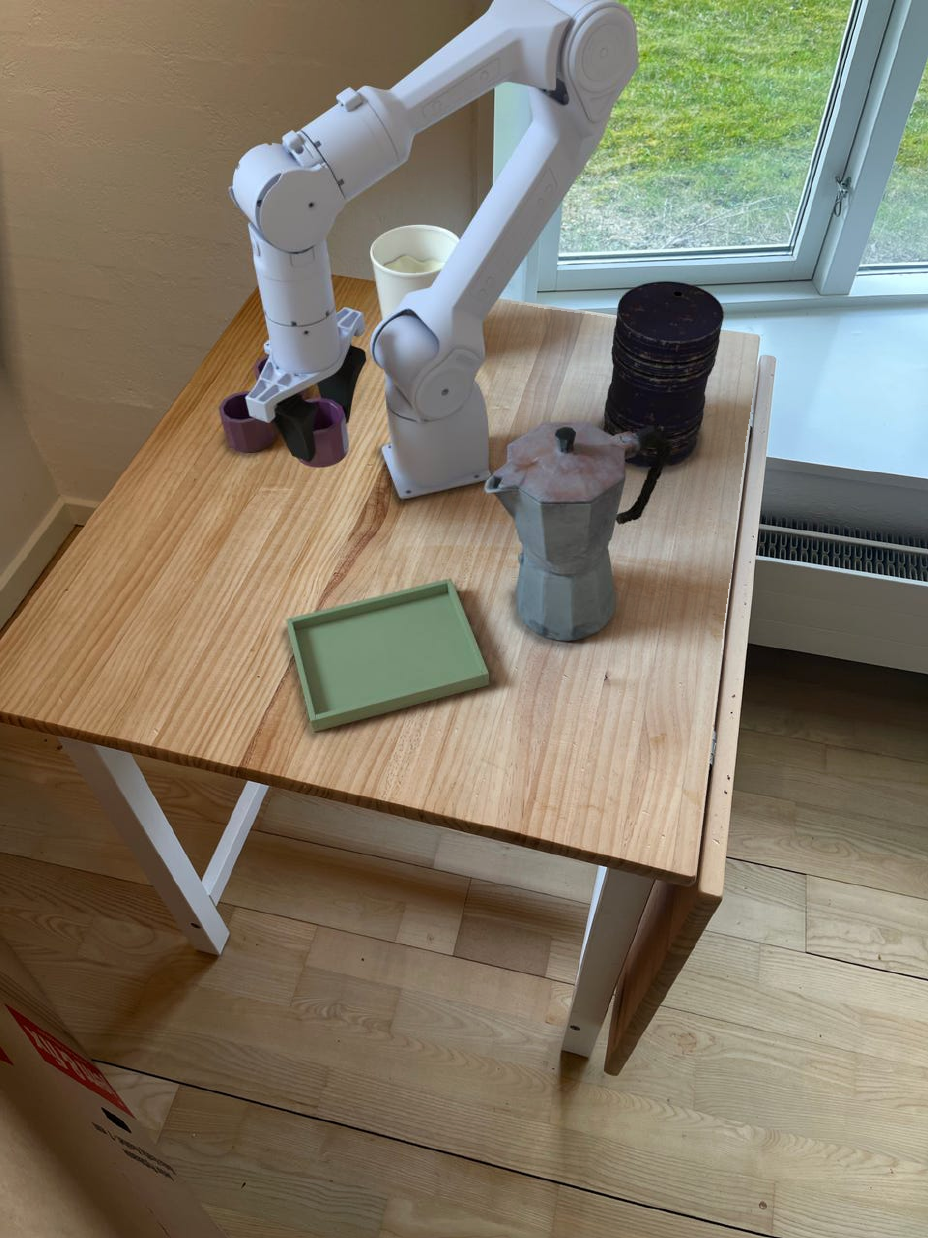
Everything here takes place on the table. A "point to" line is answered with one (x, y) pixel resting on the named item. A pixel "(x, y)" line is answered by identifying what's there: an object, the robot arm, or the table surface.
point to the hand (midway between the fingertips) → (320, 437)
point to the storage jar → (662, 364)
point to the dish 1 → (244, 425)
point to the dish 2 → (328, 434)
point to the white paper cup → (408, 261)
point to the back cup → (259, 368)
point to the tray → (385, 654)
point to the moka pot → (570, 519)
